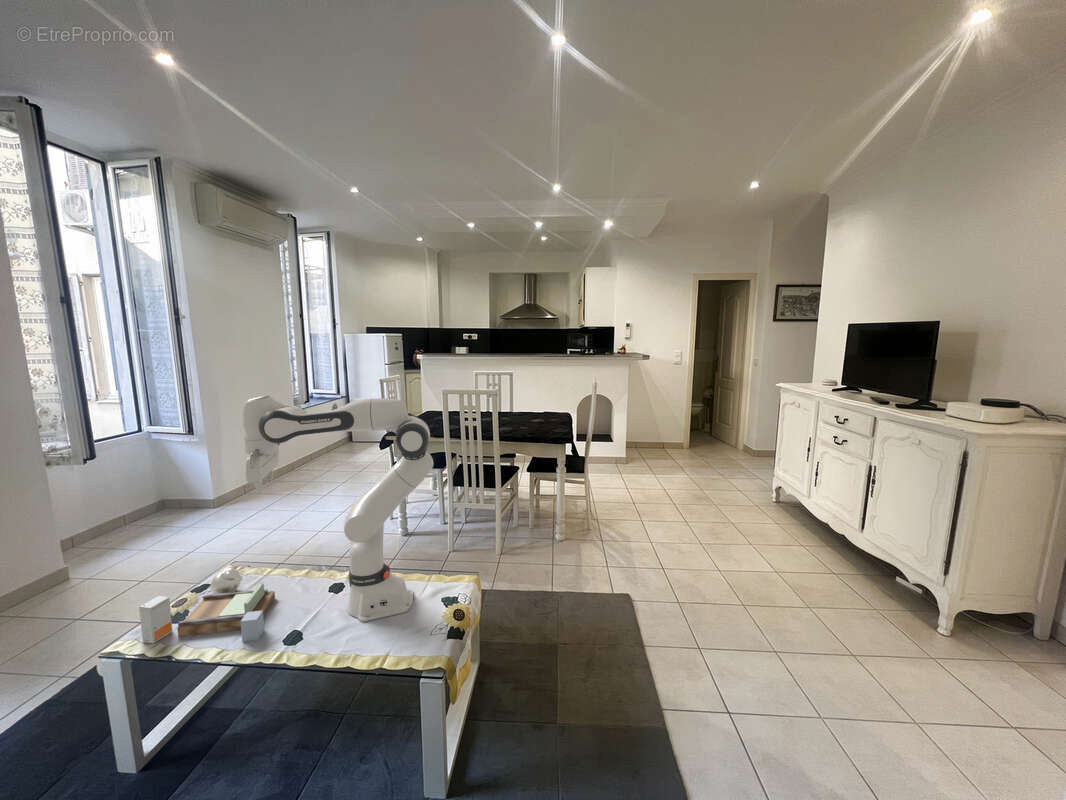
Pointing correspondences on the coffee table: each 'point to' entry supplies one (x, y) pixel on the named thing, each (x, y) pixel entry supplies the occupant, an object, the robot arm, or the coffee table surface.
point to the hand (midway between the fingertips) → (264, 487)
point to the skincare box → (155, 619)
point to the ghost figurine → (226, 581)
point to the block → (252, 626)
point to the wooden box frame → (209, 610)
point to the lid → (243, 602)
